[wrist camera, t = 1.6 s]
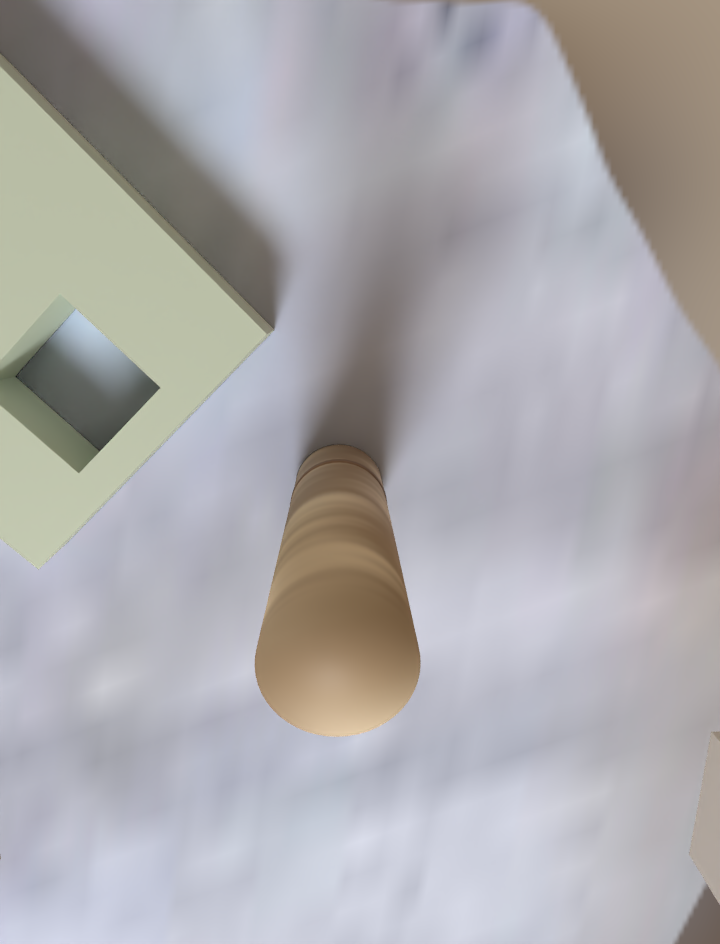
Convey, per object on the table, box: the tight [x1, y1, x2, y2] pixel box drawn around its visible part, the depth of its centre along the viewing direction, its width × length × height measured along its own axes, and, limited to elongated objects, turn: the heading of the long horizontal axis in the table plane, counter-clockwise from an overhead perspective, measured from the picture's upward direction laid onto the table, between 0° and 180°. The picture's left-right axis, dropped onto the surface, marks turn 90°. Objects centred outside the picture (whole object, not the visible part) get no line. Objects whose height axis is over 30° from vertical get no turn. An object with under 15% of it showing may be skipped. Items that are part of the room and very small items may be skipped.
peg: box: [255, 444, 420, 737], centre depth 23 cm, size 4×4×15 cm
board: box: [0, 53, 274, 569], centre depth 26 cm, size 16×14×3 cm
